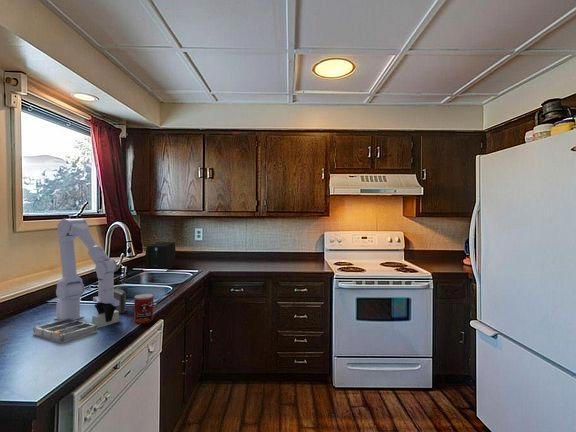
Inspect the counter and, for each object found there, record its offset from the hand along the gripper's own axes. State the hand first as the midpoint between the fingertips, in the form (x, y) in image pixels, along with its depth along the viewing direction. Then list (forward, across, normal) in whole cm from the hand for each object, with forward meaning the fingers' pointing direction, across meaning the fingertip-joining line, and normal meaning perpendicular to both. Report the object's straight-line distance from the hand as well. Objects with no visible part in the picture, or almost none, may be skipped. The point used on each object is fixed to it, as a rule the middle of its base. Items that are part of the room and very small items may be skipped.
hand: (105, 320), depth 151 cm
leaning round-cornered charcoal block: (+2, -14, +15) cm, 21 cm away
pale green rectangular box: (+2, 0, 0) cm, 2 cm away
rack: (+1, -3, -15) cm, 15 cm away
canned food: (+2, +10, +11) cm, 15 cm away
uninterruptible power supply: (+2, -89, +112) cm, 143 cm away
